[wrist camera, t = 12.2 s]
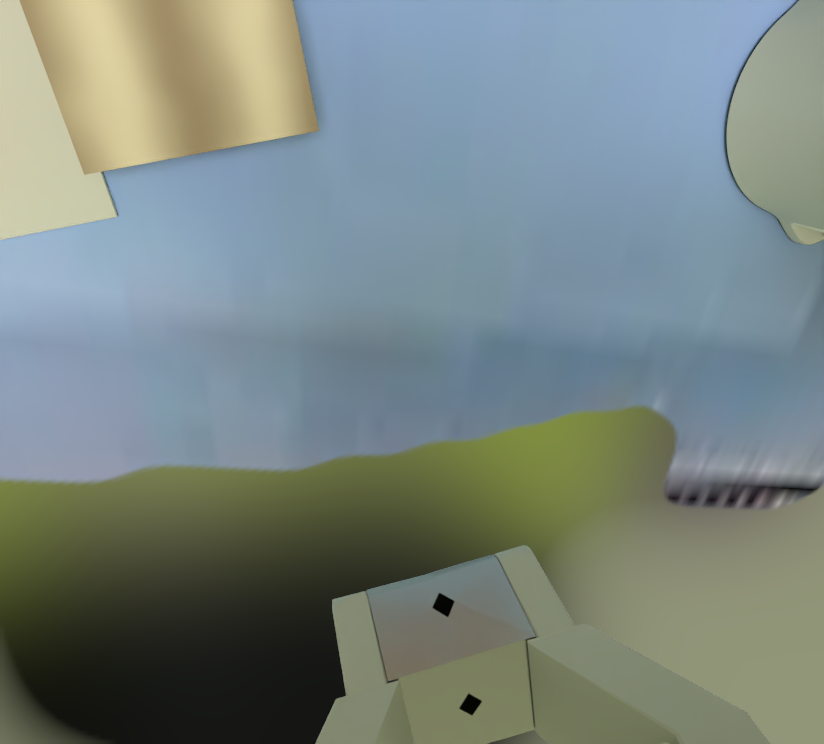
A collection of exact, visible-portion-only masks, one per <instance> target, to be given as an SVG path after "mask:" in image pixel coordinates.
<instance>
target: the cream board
mask: <svg viewBox="0 0 824 744" xmlns="http://www.w3.org/2000/svg"><path fill="white" fill-rule="evenodd" d="M117 216H118V214H117V211H116V208H115V205H114V203H113V200H112V197H111V194H110V192H109V189H108V186H107V183H106V180H105V178H104V175H103V172H97V173H91V174H86V175H84V173H83V170H82V167H81V165H80V162H79V159H78V157H77V154H76V151H75V149H74V146H73V143H72V141H71V138H70V135H69V132H68V130H67V127H66V124H65V122H64V119H63V116H62V114H61V111H60V108H59V106H58V103H57V100H56V98H55V95H54V92H53V89H52V87H51V84H50V81H49V79H48V76H47V73H46V71H45V68H44V65H43V63H42V60H41V57H40V55H39V52H38V49H37V46H36V44H35V41H34V38H33V36H32V33H31V30H30V28H29V25H28V22H27V20H26V17H25V14H24V12H23V9H22V6H21V3H20V1H19V0H0V240H1V239H7V238H12V237H17V236H22V235H27V234H32V233H37V232H42V231H47V230H52V229H57V228H62V227H67V226H73V225H78V224H83V223H88V222H93V221H98V220H103V219H108V218H113V217H117Z"/></svg>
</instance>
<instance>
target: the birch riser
mask: <svg viewBox="0 0 824 744" xmlns="http://www.w3.org/2000/svg"><path fill="white" fill-rule="evenodd" d="M19 1H20V3H21V6H22V9H23V12H24V14H25V17H26V20H27V22H28V25H29V28H30V30H31V33H32V36H33V38H34V41H35V44H36V46H37V49H38V52H39V55H40V57H41V60H42V63H43V65H44V68H45V71H46V73H47V76H48V79H49V81H50V84H51V87H52V89H53V92H54V95H55V98H56V100H57V103H58V106H59V108H60V111H61V114H62V116H63V119H64V122H65V124H66V127H67V130H68V132H69V135H70V138H71V141H72V143H73V146H74V149H75V151H76V154H77V157H78V159H79V162H80V165H81V167H82V170H83V173H84V175H86V174H91V173H97V172H102V171H107V170H113V169H118V168H123V167H129V166H134V165H139V164H145V163H150V162H155V161H161V160H166V159H171V158H177V157H182V156H187V155H193V154H198V153H203V152H209V151H214V150H219V149H225V148H230V147H235V146H241V145H246V144H251V143H257V142H262V141H267V140H273V139H278V138H283V137H289V136H294V135H299V134H305V133H310V132H315V131H319V129H318V124H317V119H316V114H315V109H314V104H313V99H312V94H311V89H310V85H309V80H308V75H307V70H306V65H305V60H304V55H303V50H302V45H301V40H300V35H299V30H298V25H297V20H296V15H295V10H294V5H293V0H19Z"/></svg>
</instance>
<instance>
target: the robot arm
mask: <svg viewBox="0 0 824 744" xmlns="http://www.w3.org/2000/svg"><path fill="white" fill-rule="evenodd" d="M727 153H728V159H729V163H730V167H731V170H732V173H733V176H734V178H735V180H736V182H737V184H738V186H739V187H740V189H741V190H742V192H743V193H744V194H745V195H746V196H747V197H748V198H749V199H750V200H751V201H752V202H753V203H754V204H756V205H757V206H759V207H760V208H762V209H764V210H766V211H768V212H770V213H771V214H773V215H774V216H776V217H777V218H778V219H779V221H780V223H781V225H782V226H783V228H784V230H785V232H786V233H787V235H788V236H789V238H790V239H791V240H792V241H794V242H796V243H800V244H805V245H811V244H815V243H817V242H819V241H822V240H824V0H799V1H798V2H797V3H796V4H795V5H794V6H793V7H792V8H791V9H790V10H789V11H788V12H787V13H786V14H785V15H783V16H782V17H781V18H780V19H779V20H778V21H777V22H776V23H775V24H774V25H773V26H772V27H771V29H770V30H769V31H768V32H767V33H766V35H765V36H764V37H763V38H762V40H761V41H760V42H759V44H758V45H757V47H756V48H755V50H754V51H753V53H752V54H751V56H750V58H749V60H748V61H747V63H746V65H745V67H744V69H743V71H742V73H741V76H740V78H739V80H738V83H737V85H736V88H735V91H734V94H733V98H732V101H731V105H730V110H729V115H728V122H727ZM367 594H368V597H367ZM368 599H369V600H368ZM332 602H333V603H332V611H333V617H334V622H335V629H336V635H337V641H338V647H339V654H340V659H341V665H342V672H343V678H344V684H345V690H346V696H344V697H341V698H338V699H336V700H335V703H334V705H333V707H332V709H331V711H330V713H329V715H328V718H327V720H326V722H325V724H324V726H323V728H322V731H321V733H320V735H319V737H318V739H317V741H316V743H315V744H487V743H491V742H494V741H497V740H501V739H504V738H508V737H511V736H514V735H518V734H521V733H524V732H528V731H531V730H535V729H536V733H537V734H538V735H539V736H541V737H542V738H543V739H544V740H545V741H547V742H548V743H549V744H770V742H769V741H768V740H767V738H766V737H765V736H764V735H763V733H762V732H761V730H760V729H759V728H758V726H757V725H756V724H755V723H754V721H753V720H752V719H751V717H750V716H749V715H748V713H747V712H745V711H744V710H742V709H740V708H738V707H736V706H734V705H733V704H731V703H729V702H727V701H725V700H724V699H722V698H720V697H718V696H716V695H714V694H713V693H711V692H709V691H707V690H705V689H704V688H702V687H700V686H698V685H696V684H694V683H693V682H691V681H689V680H687V679H685V678H684V677H682V676H680V675H678V674H676V673H674V672H672V671H671V670H669V669H667V668H665V667H663V666H662V665H660V664H658V663H656V662H654V661H652V660H650V659H649V658H647V657H645V656H643V655H642V654H640V653H638V652H636V651H634V650H633V649H631V648H629V647H627V646H625V645H623V644H622V643H619V642H618V641H616V640H614V639H613V638H611V637H609V636H607V635H605V634H603V633H601V632H600V631H598V630H596V629H594V628H592V627H590V626H589V625H587V624H581V625H577V626H575V625H574V623H573V622H572V620H571V618H570V616H569V615H568V613H567V611H566V609H565V608H564V606H563V604H562V602H561V601H560V599H559V597H558V596H557V594H556V592H555V591H554V589H553V587H552V585H551V584H550V582H549V580H548V578H547V577H546V575H545V573H544V571H543V570H542V568H541V566H540V564H539V563H538V561H537V559H536V557H535V556H534V554H533V552H532V551H531V549H530V548H529V547H527V546H526V545H523V546H520V547H517V548H513V549H509V550H506V551H503V552H499V553H496V554H494V556H493V555H490V556H486V557H483V558H479V559H476V560H472V561H469V562H466V563H462V564H459V565H456V566H452V567H449V568H445V569H442V570H439V571H435V572H432V573H430V574H427V575H423V576H419V577H415V578H411V579H408V580H404V581H400V582H396V583H392V584H388V585H384V586H380V587H377V588H372V589H369V590H367V593H366V591H364V592H360V593H356V594H352V595H349V596H345V597H341V598H336V599H333V601H332ZM369 603H370V604H369ZM370 607H371V608H370Z"/></svg>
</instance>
